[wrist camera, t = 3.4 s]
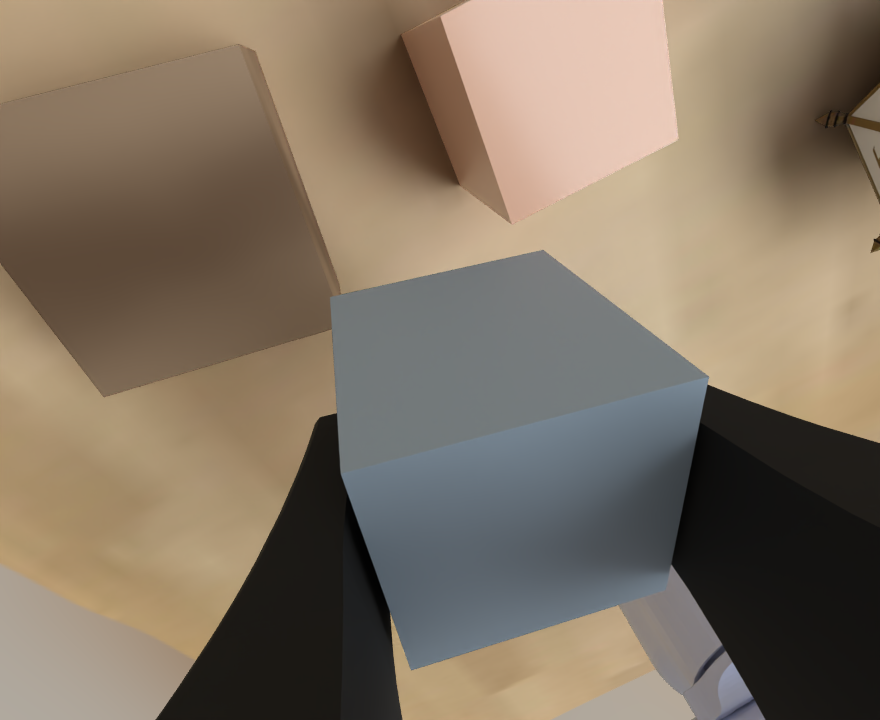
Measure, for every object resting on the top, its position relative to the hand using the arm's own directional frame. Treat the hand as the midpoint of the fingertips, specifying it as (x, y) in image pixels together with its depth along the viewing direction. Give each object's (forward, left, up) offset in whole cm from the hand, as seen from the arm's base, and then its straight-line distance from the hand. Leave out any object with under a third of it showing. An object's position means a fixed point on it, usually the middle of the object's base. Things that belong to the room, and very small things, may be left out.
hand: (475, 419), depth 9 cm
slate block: (0, 0, -2) cm, 2 cm away
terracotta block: (+5, -4, -9) cm, 11 cm away
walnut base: (+3, +6, -9) cm, 11 cm away
